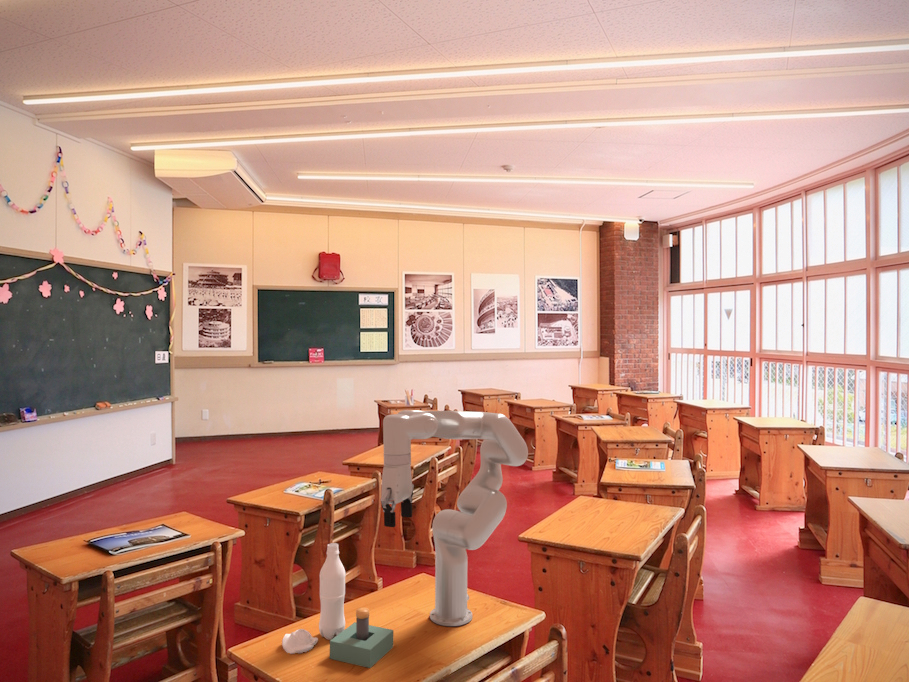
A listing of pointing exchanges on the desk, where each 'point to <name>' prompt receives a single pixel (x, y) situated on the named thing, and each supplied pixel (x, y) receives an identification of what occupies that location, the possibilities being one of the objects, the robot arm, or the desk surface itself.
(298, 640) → the rose
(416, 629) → the desk surface
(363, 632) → the round peg
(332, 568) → the water bottle
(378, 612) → the desk surface
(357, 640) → the socket block
